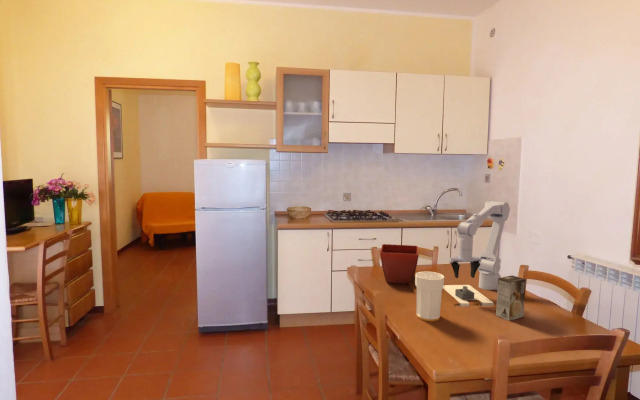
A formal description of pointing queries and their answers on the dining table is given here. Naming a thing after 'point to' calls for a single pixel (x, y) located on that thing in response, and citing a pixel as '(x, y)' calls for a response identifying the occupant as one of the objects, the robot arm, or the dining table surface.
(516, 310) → the coffee box
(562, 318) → the dining table surface
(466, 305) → the shelf board
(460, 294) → the grey square frame
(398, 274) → the plant pot
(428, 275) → the cup
